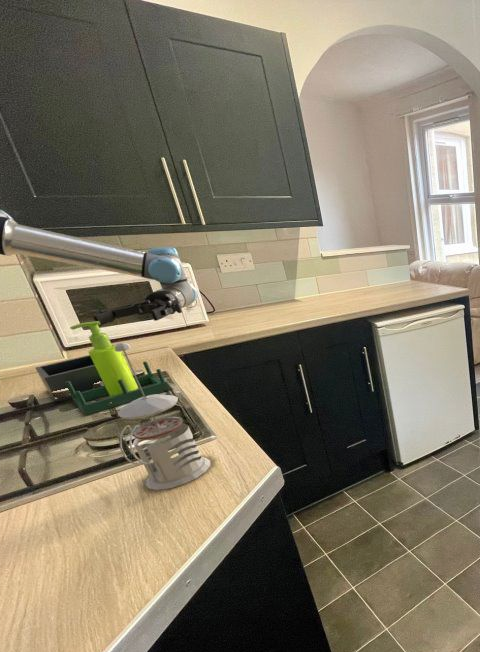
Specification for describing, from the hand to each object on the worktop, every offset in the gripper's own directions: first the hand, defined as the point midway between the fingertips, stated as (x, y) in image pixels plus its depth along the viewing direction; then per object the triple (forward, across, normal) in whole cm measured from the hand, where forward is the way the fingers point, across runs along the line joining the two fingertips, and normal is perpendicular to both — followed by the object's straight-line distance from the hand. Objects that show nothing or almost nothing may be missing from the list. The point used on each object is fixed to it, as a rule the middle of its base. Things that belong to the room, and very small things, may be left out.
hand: (125, 318), depth 114 cm
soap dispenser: (+13, 0, -18) cm, 22 cm away
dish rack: (+13, 0, -18) cm, 22 cm away
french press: (+58, -31, -18) cm, 69 cm away
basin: (+1, +14, -18) cm, 23 cm away
